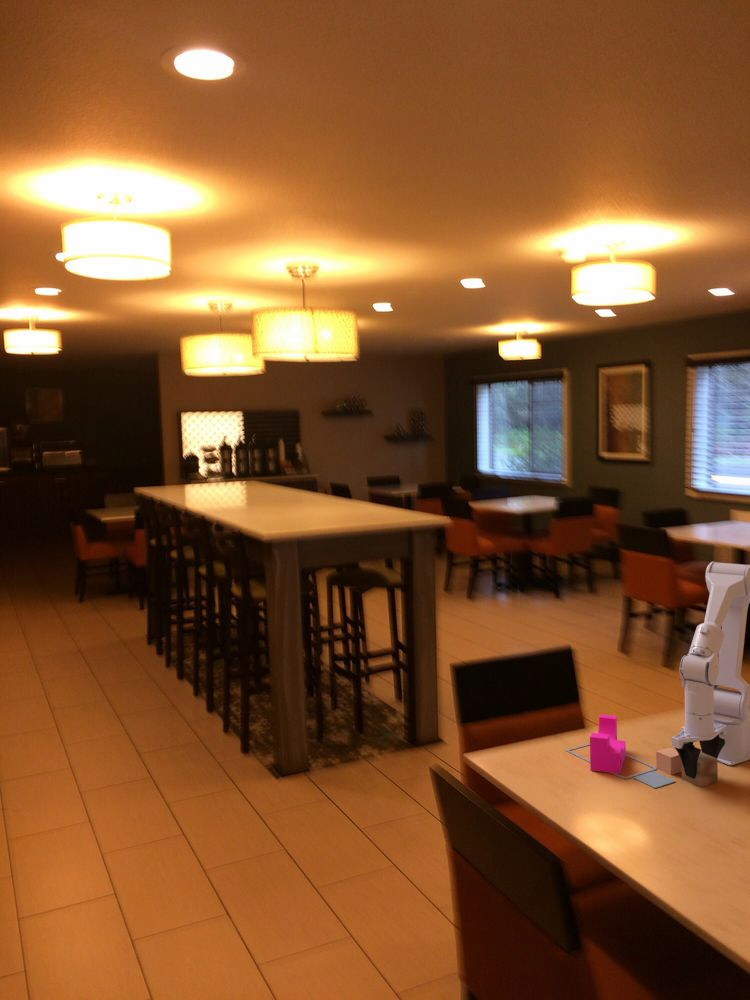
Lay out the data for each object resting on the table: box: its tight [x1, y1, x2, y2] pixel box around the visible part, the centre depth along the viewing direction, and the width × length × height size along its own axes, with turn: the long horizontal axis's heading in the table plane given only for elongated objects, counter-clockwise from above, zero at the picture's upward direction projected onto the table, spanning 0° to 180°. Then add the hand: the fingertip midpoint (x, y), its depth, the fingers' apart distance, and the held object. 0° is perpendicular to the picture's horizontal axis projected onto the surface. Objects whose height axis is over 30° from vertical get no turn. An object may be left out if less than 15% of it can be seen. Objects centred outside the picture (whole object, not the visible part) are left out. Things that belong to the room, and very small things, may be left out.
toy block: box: [589, 714, 627, 775], centre depth 179 cm, size 15×6×8 cm, turn 155°
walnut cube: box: [681, 751, 719, 788], centre depth 167 cm, size 5×5×5 cm
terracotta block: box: [655, 747, 682, 776], centre depth 173 cm, size 4×4×4 cm
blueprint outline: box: [565, 743, 676, 790], centre depth 177 cm, size 10×25×1 cm, turn 28°
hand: (699, 773), depth 167 cm, fingers closed on walnut cube, 5 cm apart
